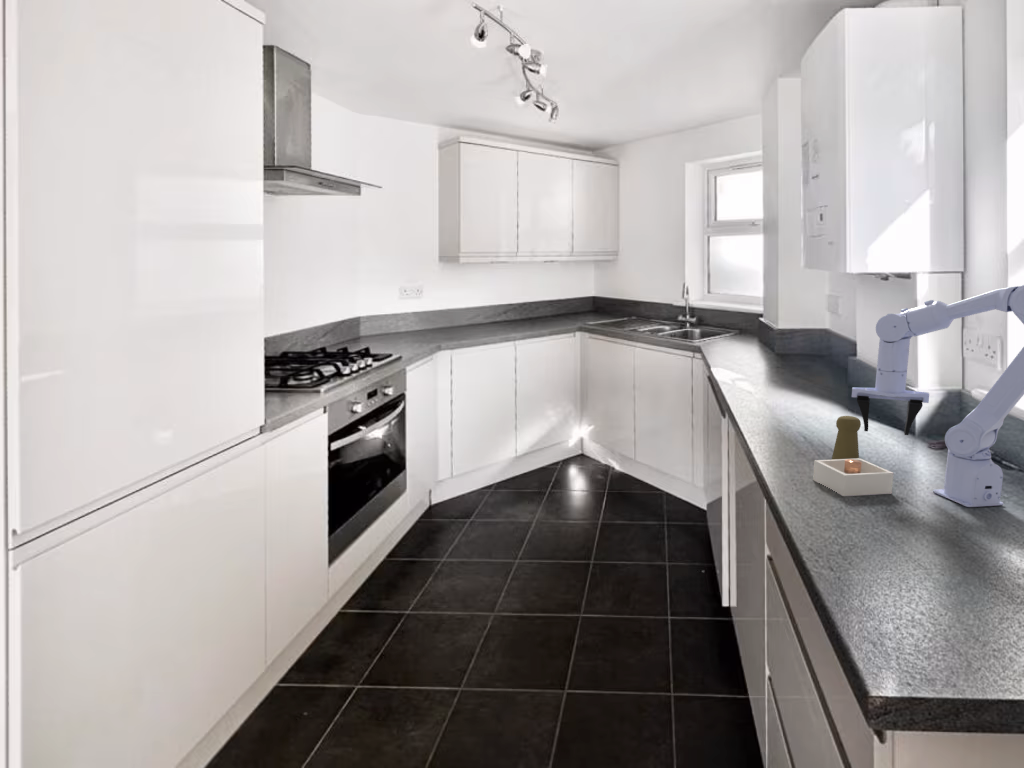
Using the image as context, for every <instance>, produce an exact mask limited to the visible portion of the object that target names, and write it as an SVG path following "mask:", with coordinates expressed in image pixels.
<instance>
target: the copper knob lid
mask: <svg viewBox="0 0 1024 768" xmlns="http://www.w3.org/2000/svg"><path fill="white" fill-rule="evenodd" d="M861 465H862V462H861V461H859V460H853V459H847V460H845V465H844V472H845V473H847V474H857V473H861Z"/></svg>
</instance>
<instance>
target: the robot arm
mask: <svg viewBox="0 0 1024 768" xmlns="http://www.w3.org/2000/svg"><path fill="white" fill-rule="evenodd" d="M993 310H997V311H1001V312H1005V313H1010V312H1011V313H1013V314H1014V315H1015V316H1016V317H1017V319H1018V320H1019V321H1020V322H1021V323H1022V324H1023V325H1024V284H1023V285H1017V286H1011V287H1010V286H1009V287H1004V288H997V289H994V290H990V291H987V292H984V293H982V294H978V295H975V296H972V297H969V298H966V299H965V298H964V299H962V300H960V301H957V302H953V303H950V304H947V303H945V302H943V301H941V300H937V301H935V300H934V299H930V300H926V301H924V303H923V305H920V306H916V307H912V308H908V307H906V308H901V310H900V312H899V313H887V314H886V315H884V316H881V317H880V318H879V319H878V321H877V322H876V324H875V332H876V335H877V336H878V338H879V343H878V350H877V351H878V354H877V360H876V361H877V364H876V375H875V387H855V386H854V387H852V388H851V398H856V402H857V405H858V407H859V409H860V413H861V417H862V420H863V427H864V432H869V413H870V403H871V402H870V400H871V399H877V400H879V399H880V400H892V401H893V400H894V401H904V402H906V401H907V405H906V406H907V409H906V410H907V411H906V419H905V425H904V432H903V434H904V436H909V433H910V431H911V427H912V425H913V423H914V421H915V419H916V417H917V416H918V414H919V413H920V411H921V410H922V407H923V404H925V403H926V404H929V402H930V393H929V392H926V391H917V390H909V389H907V388H906V387H907V377H908V365H909V356H910V344H911V339H912V338H913V337H918V336H921V335H925V334H926V335H927V334H930V333H934V332H938V331H941V330H942V331H943V330H945V329H948V328H949V327H950V326H951V324H952V322H953V321H954V320H956V319H960V318H964V317H968V316H969V317H970V316H974V315H977V314H982V313H987V312H989V311H993ZM1022 397H1024V346H1023V347H1022V348H1021V349H1020V351H1019V352H1018V353H1017V354H1016V356H1015V357H1014V359H1012V361H1011V362H1010V363H1009V365H1008V366H1007V368H1006V369H1005V370H1004V371H1003V373H1002V374H1001V375H1000V376H999V378H998V379H997V380H996V381H995V382H994V384H993V386H992V387H991V388H990V390H989V391H987V393H986V394H985V396H984V397H983V398H982V400H981V401H980V402H979V403H978V405H977V406H976V407H975V408H974V409H973V410H972V411H971V412H970V413H968V414H967V415H966V416H965V417H964V418H963V419H962V421H961V422H959V423H957V424H956V425H954V426H952V427H949V429H948V430H947V431H946V433H945V435H944V443H945V446H946V448H947V449H948V450H947V457H946V466H945V473H944V474H945V475H944V485H943V488H939V489H937V488H936V489H933V490H932V492H933V493H935V494H937V495H939V496H941V497H943V498H946V499H947V500H951V501H953V502H956V503H957V504H960V505H962V506H964V507H967V508H977V507H978V508H979V507H993V506H995V507H996V506H1003V505H1004V502H1003V501H1001V496H1002V487H1003V481H1004V473H1003V469H1002V468H1001V466H999V465H998V464H997V463H995V462H994V460H992V453H991V450H990V448H991V447H993V446H994V445H995V443H996V442H997V440H998V439H997V438H998V433H999V430H1000V429H1001V428H1002V426H1003V424H1004V420H1005V418H1006V417H1007V416H1008V415H1009V413H1010V412H1011V411H1012V410H1013V408H1014V407H1015V406H1016V405H1017V403H1018V402H1019V401H1020V400H1021V399H1022Z"/></svg>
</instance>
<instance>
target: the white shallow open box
mask: <svg viewBox="0 0 1024 768" xmlns="http://www.w3.org/2000/svg"><path fill="white" fill-rule="evenodd" d="M845 460H847V459H834V460H831V459H818V460H817V459H815V460H814V461H813V474H812V475H813V477H812V481H814V482H816V483H818V484H819V483H820V485H821V484H822V485H821V486H823V485H824V487H825V486H826V488H827V487H828V488H827V489H829V488H830V489H829V490H831V489H832V490H833V492H834V491H835V492H834V493H836V492H837V494H838V495H840V496H842V497H853V496H854V497H855V496H871V495H873V496H874V495H890V494H892V493H893V485H894V484H893V482H894V472H892V471H890V470H888V469H886V468H883V467H881V466H878V465H877V464H874V463H872V462H869V461H867V460H865V459H862V458H861V457H859V458H855V459H853V460H859V461H861V462H862V465H861V473H857V474H847V473H845V472H844V465H845ZM832 490H831V491H832Z"/></svg>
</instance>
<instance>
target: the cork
mask: <svg viewBox="0 0 1024 768" xmlns="http://www.w3.org/2000/svg"><path fill="white" fill-rule="evenodd" d="M835 426H836V428H837V434H836V438H835V442H834V448H833V451H832V455H831V459H830V460H834V459H855V458H860V455H859V449H860V448H859V437H858V436H859V434H858V432H859V430H860V428H861V420H860V418H858V417H857V416H852V415H841V416H838V417H837V419H836V423H835Z"/></svg>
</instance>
